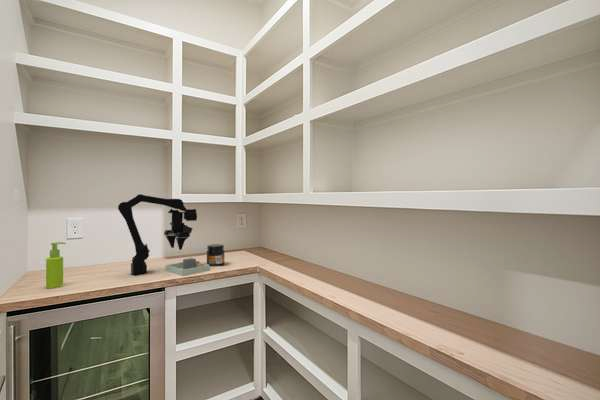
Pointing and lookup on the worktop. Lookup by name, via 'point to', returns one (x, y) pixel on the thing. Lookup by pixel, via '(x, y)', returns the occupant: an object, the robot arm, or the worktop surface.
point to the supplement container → (215, 255)
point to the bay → (178, 269)
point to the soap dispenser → (54, 267)
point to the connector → (189, 263)
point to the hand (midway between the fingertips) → (176, 248)
